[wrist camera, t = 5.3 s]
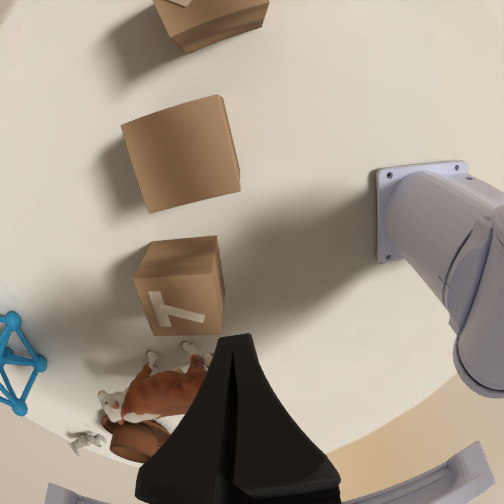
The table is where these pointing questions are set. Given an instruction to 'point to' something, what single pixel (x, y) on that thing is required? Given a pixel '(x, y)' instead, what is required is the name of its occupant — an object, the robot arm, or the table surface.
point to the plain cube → (183, 154)
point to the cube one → (209, 20)
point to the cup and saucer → (135, 438)
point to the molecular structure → (5, 356)
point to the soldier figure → (86, 442)
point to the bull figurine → (157, 390)
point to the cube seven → (182, 287)
